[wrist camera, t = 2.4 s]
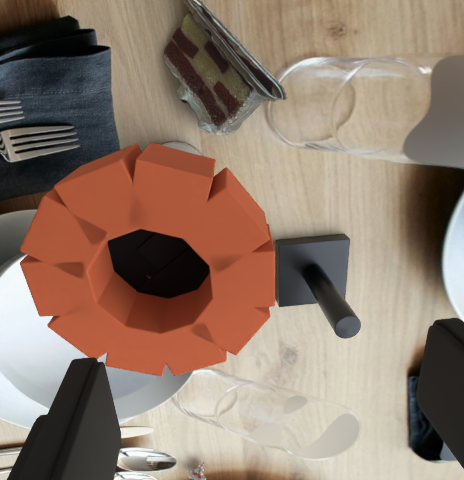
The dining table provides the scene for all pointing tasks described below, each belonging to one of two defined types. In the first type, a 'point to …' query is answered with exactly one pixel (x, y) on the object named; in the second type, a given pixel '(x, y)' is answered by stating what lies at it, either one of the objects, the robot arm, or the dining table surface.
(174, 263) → the travel mug
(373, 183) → the dining table surface
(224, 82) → the chocolate cake
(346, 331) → the black peg stand
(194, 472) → the figurine
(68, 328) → the ring
